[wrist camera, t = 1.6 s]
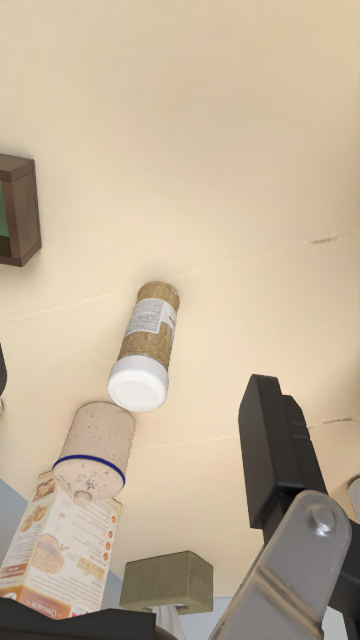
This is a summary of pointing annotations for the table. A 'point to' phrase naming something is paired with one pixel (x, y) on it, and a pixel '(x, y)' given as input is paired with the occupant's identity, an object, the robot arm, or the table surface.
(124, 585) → the tissue box
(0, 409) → the milk bottle
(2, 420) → the table surface
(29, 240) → the holder
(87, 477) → the teacup with lid
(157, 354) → the sprinkles bottle
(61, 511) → the coffeecake box
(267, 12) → the table surface
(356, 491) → the plastic bottle
